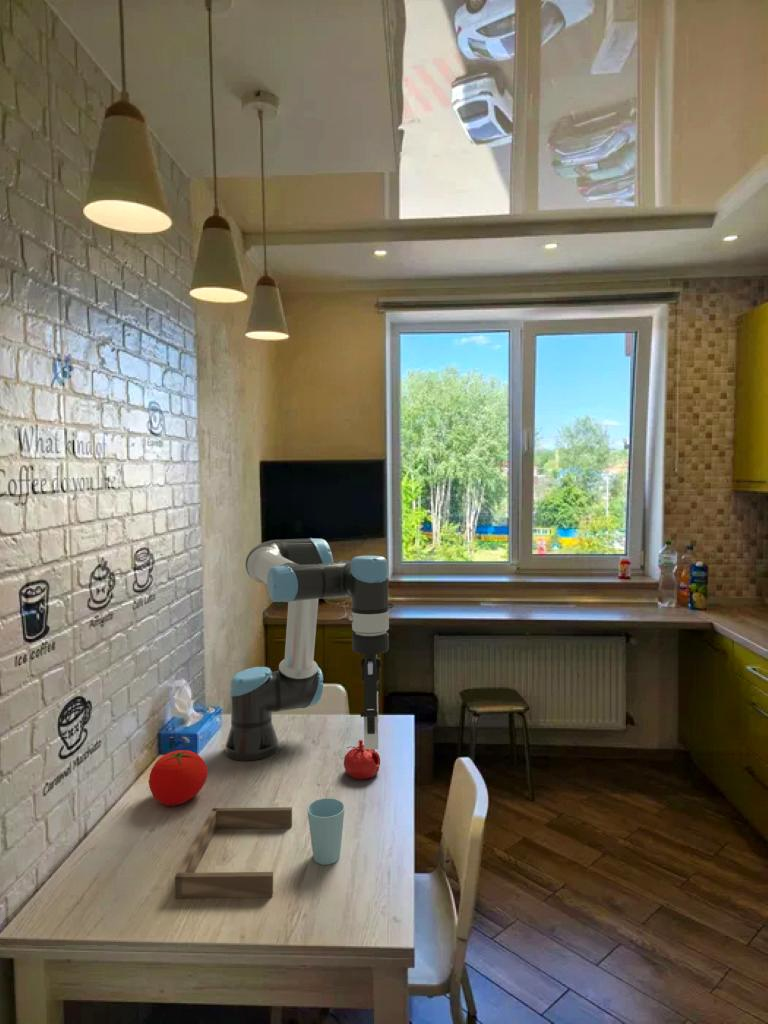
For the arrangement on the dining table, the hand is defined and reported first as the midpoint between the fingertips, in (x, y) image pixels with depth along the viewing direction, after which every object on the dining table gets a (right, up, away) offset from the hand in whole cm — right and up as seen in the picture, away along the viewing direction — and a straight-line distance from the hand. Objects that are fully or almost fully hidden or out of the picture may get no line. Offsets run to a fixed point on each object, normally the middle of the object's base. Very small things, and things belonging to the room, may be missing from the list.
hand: (371, 734), depth 121 cm
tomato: (-48, -26, +25) cm, 60 cm away
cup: (-9, -26, +1) cm, 27 cm away
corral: (-27, -26, +1) cm, 38 cm away
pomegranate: (-3, -25, +37) cm, 45 cm away
